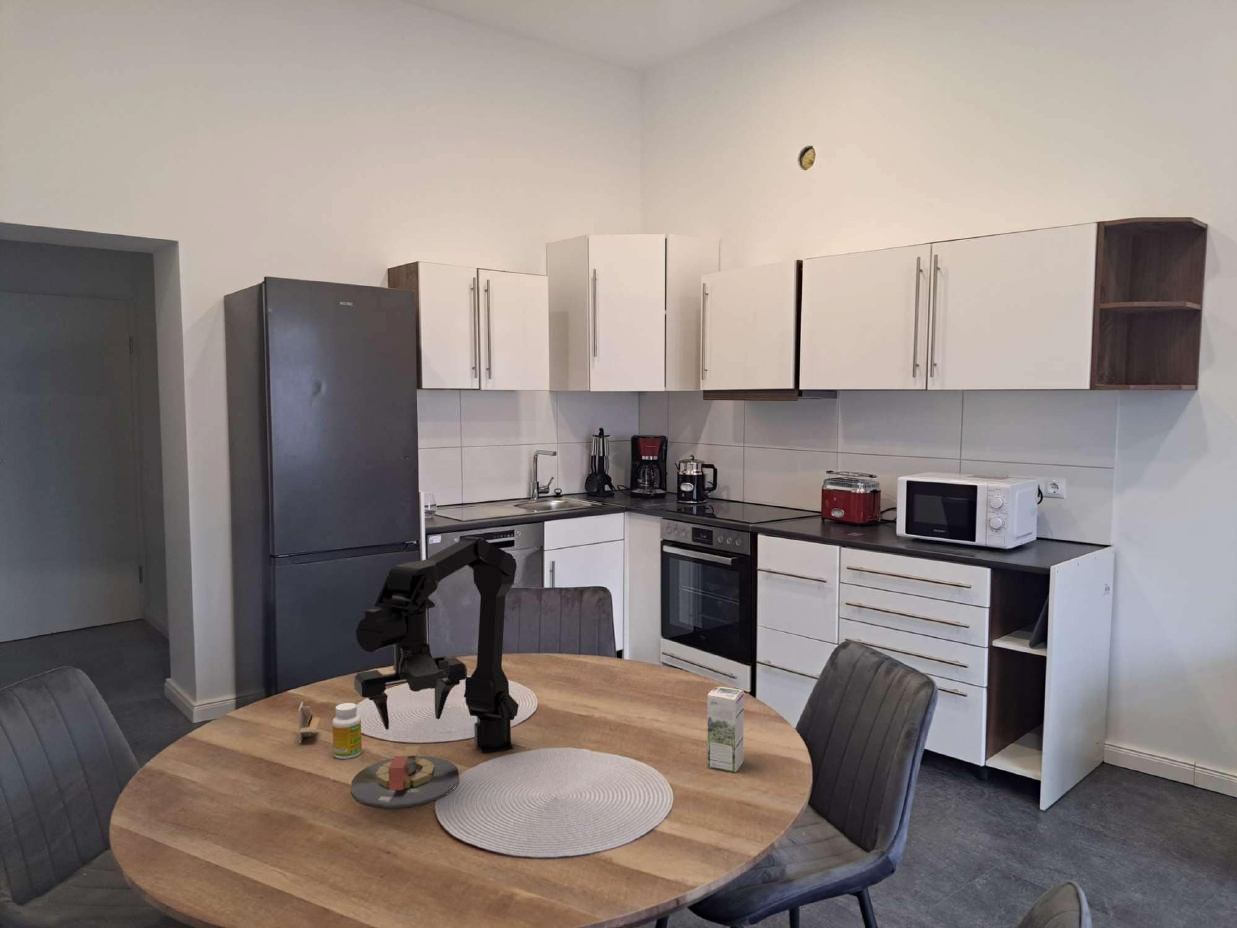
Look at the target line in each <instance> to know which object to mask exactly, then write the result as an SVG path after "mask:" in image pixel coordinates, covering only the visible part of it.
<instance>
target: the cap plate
mask: <svg viewBox="0 0 1237 928" xmlns="http://www.w3.org/2000/svg"><path fill="white" fill-rule="evenodd" d="M417 758H420V759H426V760H428V761H430V762H432V763H434V765H435V772H434V775H433V777H432V779H430V781H428V782H425V783H423V784H421V785H418V786H416V787H412V786H410V788H404V789H403V790H389V787H388V788H386V787H384V786H382V785H381V784H379V783H377V782H376V773H377V771H378V769H379V767H380V766H382V765H383V764H386V763H388V762H391V761H393V759H394V757H393V758H389V759H385V760H381V761H379V762H378V761H377V762H376V763H373V764H371V765H368V766H367V767H364V768H363V769H362V770H360V771H359V772H358V773H356V775H355V776H354V777H353V779H352V781H351V786H350V788H351V795H352V797H353V798H354V800H356V801H357V802H359V803H360V804H362V805H365V806H368V807H372V808H378V809H386V810H387V809H390V810H391V809H392V810H393V809H394V810H395V809H407V808H414V807H419V806H422V805H425V804H430V803H433V802H435V801H437V799H438V800H440V799H442V798H444V797H445V796H444V795H446V794H447V793H449V792H450V791H451V790H452V791H454V789H455V788H456V787H457V786H456V785H458V783H459V781H458V780H459V769H458V768H457V766H456V765H455V764H454V763H453V762H451V761H449V760H447V759H444V758H441V757H436V756H429V755H418V757H417ZM408 767H409V776H412V775H414V774H417V773H420V772H421V771H419V770H417V769H416V762H415V760H414V759H409V758H408ZM455 786H456V787H455ZM454 787H455V788H454ZM453 788H454V789H453ZM452 791H451V792H452ZM451 792H450V793H451ZM450 793H449V794H450ZM447 795H448V794H447ZM447 795H446V796H447ZM443 796H444V797H443ZM441 797H442V798H441ZM439 798H440V799H439Z"/></svg>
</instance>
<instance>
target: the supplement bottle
mask: <svg viewBox="0 0 1237 928" xmlns="http://www.w3.org/2000/svg"><path fill="white" fill-rule="evenodd" d="M357 711H358V706H357V704H355V702H354V703H352V702H345V703H340V704H338V705H336V706H335V715H336V716H335V717H334V718H333V719H332V723H331V725H332V726H331V727H332V751H333V756H334V757H335V758H336V759H340V760H346V759H347V760H348V759H352V758H357V757H358V756H359V755H361V753H362V749H363V748H362V745H363V744H362V719H361V716H360V715H359V714H357V713H358V712H357Z"/></svg>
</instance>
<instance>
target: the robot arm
mask: <svg viewBox="0 0 1237 928" xmlns="http://www.w3.org/2000/svg"><path fill="white" fill-rule="evenodd" d="M465 567H469V568H470V569H471V570H472V575H473V576H472V577H473V583H474V584H475V587H476V589H477V591H478V593H479V596H480V601H479V615H478V635H477V651H476V652H477V653H476V666H475V669H474V670H473V672H472V674H471V675H470V676H468V667H467V665H466V664H465V663H464V662H462V661H461V660H460V659H459V658H457V657H456V656H451V657H448V656H447V655H443V656H437V657H433V656H432V654H431V647H430V646H431V645H430V643H428V609H432V608H434V607H435V606H436V604H435V602H434V601H432V600H431V599H430V598H429V597H430V596H431V595H432V594H434V593H435V592H436V590H437V589H438V587H439V584H440V583H441V581H443V580H444V579H446V578H448V577H449V576H450V575H453V574H454V573H456V572H457V571H459V570H461V569H463V568H465ZM517 568H518V567H517V561H516V558H514V556H513V554H511V553H510V552H506V550H504V549H501V548H499V547H497V546H495V545H493V544H491V543H490V542H489V541H488V540H486V539H485V538H483V537H475V536H464V537H461V538H459V541H457V542H455V543H452V545H450V546H448V547H445V548H443V549H442V550H440V551H439V552H436V553H435V554H432V555H431V556H429V557H428V558H425V559H422V560H418V561H417V560H416V561H410V562H404V563H401V564H397V565H394V566H393V567H391V569H390V570H389V571H388V575H387V577H386V578H385V581H384V583H383V585H382V588H381V590H380V592H379V594H378V596H377V599H376V601H375V604H374V607H375V609H371V608H369V609H366V610H365V611H364V618H363V619H361V620H360V621H359V623H358V624H357V627H356V630H355V636H356V640H357V643H358V645H359V647H361V649H363V650H364V651H366V653H367V652H368V653H374V652H378V651H379V650H383V649H386V648H388V647H390V646H392V648H393V649H394V652H393V653H394V663H393V665H392V669H393V671H394V672H393V673H388V674H382V673H381V672H380V671H379V670H378V669H374V670H368V671H362V672H357V674H356V675H355V676H354V682H353V683H354V690H355V691H356V692H357V693H358V694H359V696H361V698H367V699H368V700H369V701H372V702H373V703H374V705H375V707H376V709H377V712H378V714H379V717H380V719H381V722H382V725H383V727H384V728H385V730H386V731H388V730H389V729H390V719H389V712H388V697H389V696H388V694H387V693H386V692H385V691H386V690H387V687H388V686H394V685H399V684H405V683H407V685H408V687H409V688H408V689H409V690H410V691H412V692H414V693H415V692H420V691H422V690H428V689H430V690H433V689H434V713H435V715H434V716H435V719H437V720H440V719H441V716H442V714H443V710H444V708H445V704H446V701H447V698H448V696H449V695H450V692H451V691H452V690H453V688H454V687H456V686H458V685H460V684H461V681H464V680H465V681H464V682H465V683H464V685H465V686H464V687H465V689H464V695H463V698H464V699H465V704H466V706H467V709H468V713H469V715H470V716H471V717H476V722H475V723H474V726H473V729H474V743H475V746H476V747H477V748H478V749H479V751H480V752H481V753H483V754H485V753H489V752H490V753H492V752H496V751H503V750H504V751H505V750H509V749H510V750H511V749H514V745H513V743H512V738H511V736H512V732H511V731H512V730H511V729H512V728H511V724H512V723H511V721H513V720H515V717H516V716H517V715H518V711H519V704H518V702H517V701H516V700H515V699H514V698H513V696H511V695H510V685H509V680H508V678H507V676H506V673H505V672H504V669H503V667H502V665H503V650H504V649H503V646H504V627H505V611H506V610H505V609H506V596H507V594H508V593H509V591H510V590H511V588H512V586H513V585H514V583H515V577H516V572H517Z"/></svg>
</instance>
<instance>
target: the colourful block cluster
mask: <svg viewBox="0 0 1237 928" xmlns="http://www.w3.org/2000/svg"><path fill="white" fill-rule="evenodd" d="M420 753H421V746H420V745H407V746H406V747H405V750H404V752H403V754H402V755H397V756H396V755H395V756H394V757H393V758H394V759H393V758H392V759H393V761H391V762H388V763H386V764H383V765H382V766H380V767H379V769H378V771H377V773H376V782H377V783H379V784H381V785H382V786H384V787H386V788H388V787H389V790H403V789H404V788H410V786H412V787H416V786H418V785H421V784H423V783H425V782H428V781H430V779H432V777H433V775H434V772H435V765H434V763H432V762H430V761H428V760H426V759H420V758H417V757H418V756H420V755H419V754H420ZM408 758H409V759H414V760H415V762H416V769H417V770H419V771H421V772H420V773H417V774H414V775H412V776H409V767H408Z"/></svg>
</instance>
